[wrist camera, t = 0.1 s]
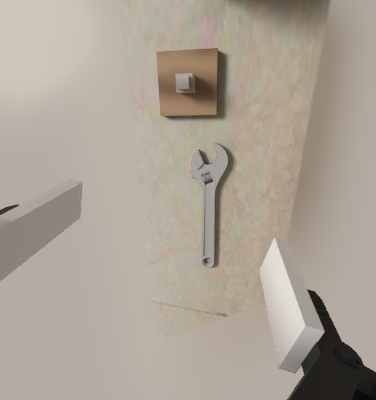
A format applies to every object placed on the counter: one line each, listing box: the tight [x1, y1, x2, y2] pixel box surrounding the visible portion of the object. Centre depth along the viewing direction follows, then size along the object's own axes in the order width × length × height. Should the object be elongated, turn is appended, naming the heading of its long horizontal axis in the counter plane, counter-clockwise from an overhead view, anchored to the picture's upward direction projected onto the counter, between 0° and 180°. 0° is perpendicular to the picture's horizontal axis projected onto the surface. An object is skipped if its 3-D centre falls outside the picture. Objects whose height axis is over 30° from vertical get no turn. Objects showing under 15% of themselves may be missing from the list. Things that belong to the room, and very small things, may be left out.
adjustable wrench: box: [190, 143, 228, 268], centre depth 46 cm, size 25×6×2 cm, turn 176°
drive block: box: [157, 48, 218, 116], centre depth 36 cm, size 9×9×6 cm
